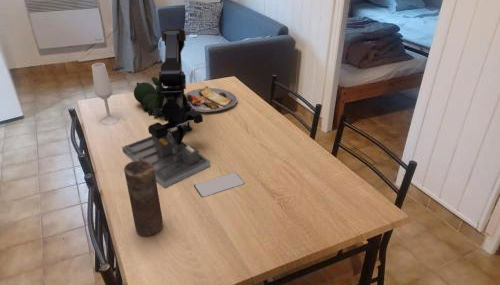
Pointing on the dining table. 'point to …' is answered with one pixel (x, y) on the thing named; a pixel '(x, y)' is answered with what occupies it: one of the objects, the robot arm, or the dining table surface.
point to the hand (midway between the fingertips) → (178, 144)
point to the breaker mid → (164, 147)
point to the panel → (165, 160)
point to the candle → (144, 197)
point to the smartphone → (218, 184)
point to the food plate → (210, 99)
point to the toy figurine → (149, 95)
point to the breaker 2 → (190, 155)
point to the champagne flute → (103, 88)
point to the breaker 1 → (158, 138)
